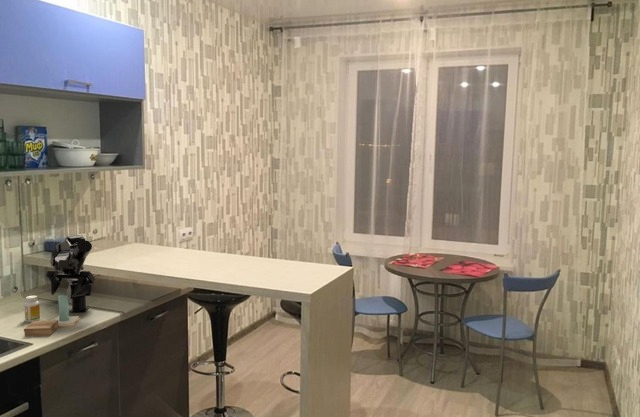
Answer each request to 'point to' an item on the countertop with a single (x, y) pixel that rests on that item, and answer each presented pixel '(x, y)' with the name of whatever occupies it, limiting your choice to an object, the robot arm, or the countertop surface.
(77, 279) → the robot arm
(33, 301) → the supplement bottle
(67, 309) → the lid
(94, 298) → the countertop surface
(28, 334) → the walnut box
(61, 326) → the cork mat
